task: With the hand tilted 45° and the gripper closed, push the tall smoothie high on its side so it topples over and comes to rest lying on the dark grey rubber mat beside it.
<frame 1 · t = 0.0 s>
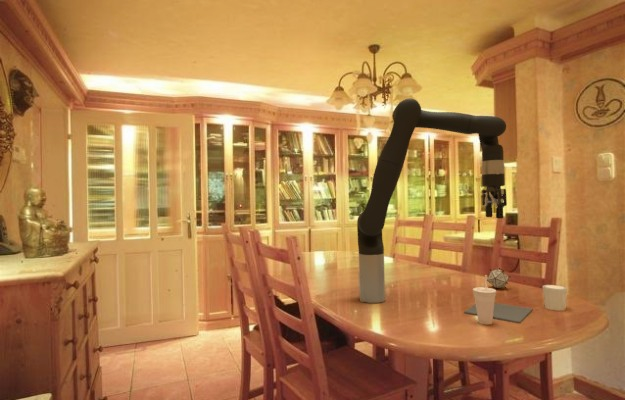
hand: (494, 217, 134), 29 cm above the table, tool pointing down, fingers open, 8 cm apart
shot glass: (555, 308, 121), on the table
game die: (498, 289, 148), on the table
smoothie: (485, 323, 109), on the table
mat: (498, 311, 118), on the table
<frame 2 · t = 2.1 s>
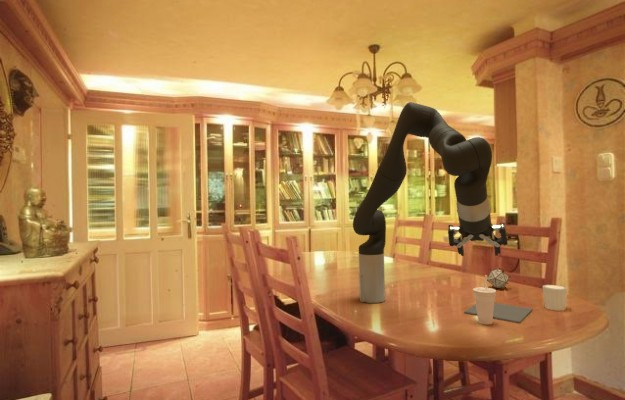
hand: (479, 253, 102), 21 cm above the table, tool tilted 40°, fingers open, 8 cm apart
nothing on the table moved.
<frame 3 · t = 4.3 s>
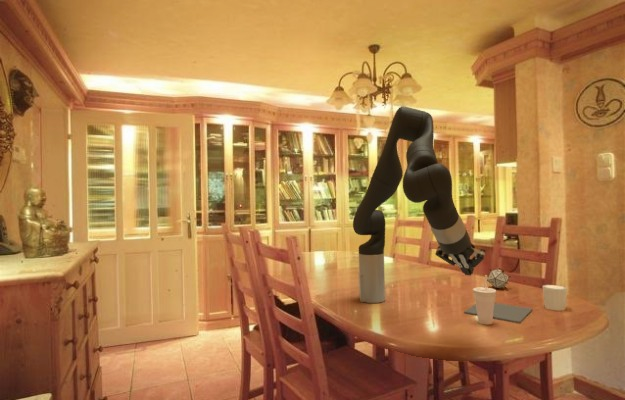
hand: (468, 272, 100), 17 cm above the table, tool tilted 45°, fingers closed
nothing on the table moved.
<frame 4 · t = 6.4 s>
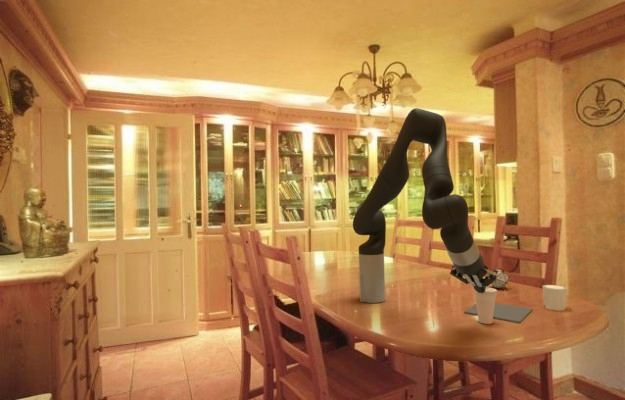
hand: (481, 290, 107), 10 cm above the table, tool tilted 45°, fingers closed
smoothie: (485, 322, 109), on the table, touching gripper
everything else where it was.
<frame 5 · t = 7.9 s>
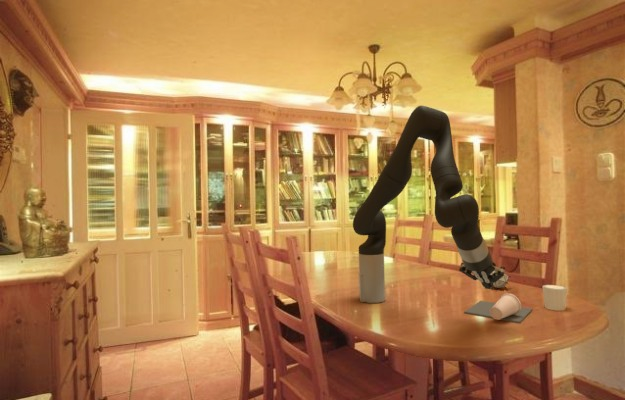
hand: (488, 286, 112), 10 cm above the table, tool tilted 45°, fingers closed
smoothie: (495, 313, 108), point 3 cm above the table, touching mat
everything else where it was.
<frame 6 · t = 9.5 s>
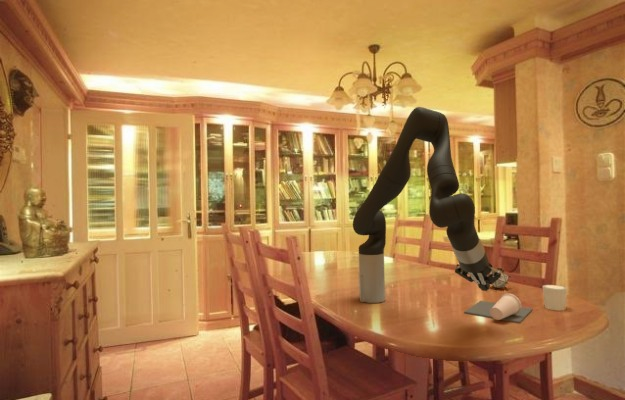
hand: (485, 288, 109), 10 cm above the table, tool tilted 45°, fingers closed
nothing on the table moved.
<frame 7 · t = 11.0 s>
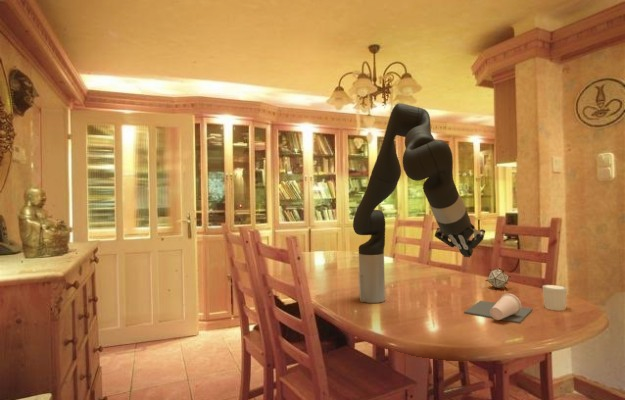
hand: (468, 254, 99), 22 cm above the table, tool tilted 45°, fingers closed
nothing on the table moved.
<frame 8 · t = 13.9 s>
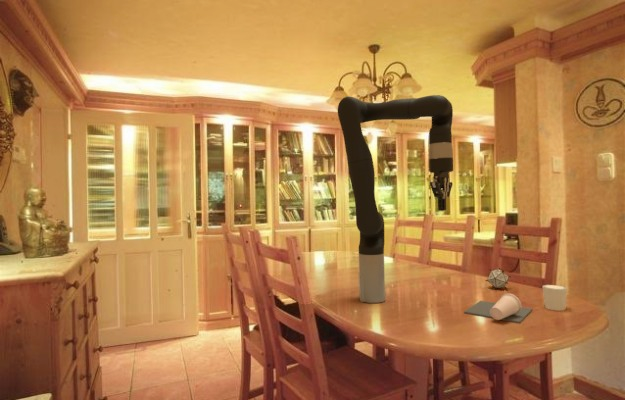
hand: (442, 210, 121), 33 cm above the table, tool pointing down, fingers closed
nothing on the table moved.
at the end: smoothie tilted 83°; smoothie touching mat; smoothie moved 4.0 cm from its start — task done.
